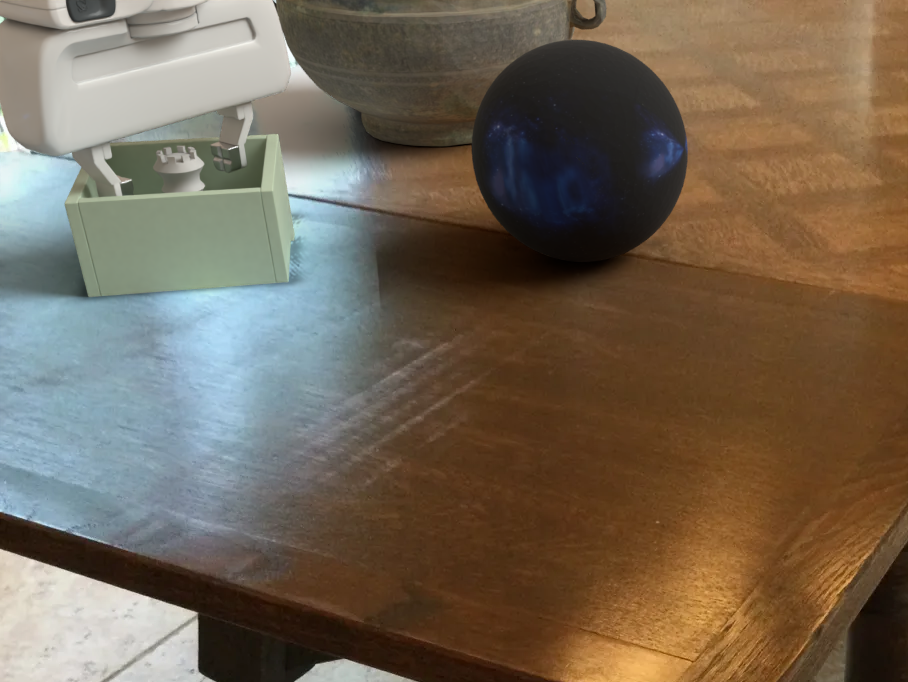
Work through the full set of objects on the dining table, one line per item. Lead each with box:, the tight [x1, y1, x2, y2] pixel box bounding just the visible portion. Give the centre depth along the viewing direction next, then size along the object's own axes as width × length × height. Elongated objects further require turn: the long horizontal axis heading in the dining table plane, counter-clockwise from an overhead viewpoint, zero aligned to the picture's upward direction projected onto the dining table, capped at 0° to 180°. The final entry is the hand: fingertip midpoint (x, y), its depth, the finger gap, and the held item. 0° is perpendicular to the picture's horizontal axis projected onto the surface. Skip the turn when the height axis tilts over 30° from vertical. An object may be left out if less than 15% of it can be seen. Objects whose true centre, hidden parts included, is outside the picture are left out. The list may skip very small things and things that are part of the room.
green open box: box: [64, 133, 296, 298], centre depth 93 cm, size 13×13×8 cm
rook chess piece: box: [153, 146, 205, 193], centre depth 92 cm, size 4×4×8 cm
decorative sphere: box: [471, 39, 689, 263], centre depth 95 cm, size 15×15×15 cm
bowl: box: [273, 0, 608, 147], centre depth 121 cm, size 32×26×15 cm
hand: (177, 187), depth 92 cm, fingers open, 8 cm apart
